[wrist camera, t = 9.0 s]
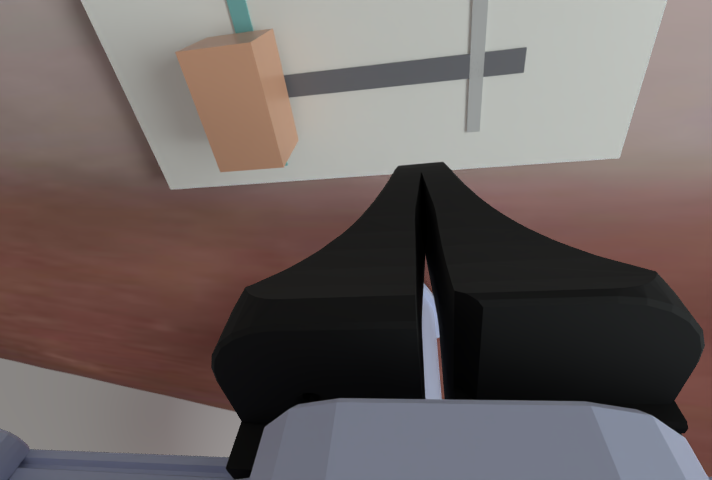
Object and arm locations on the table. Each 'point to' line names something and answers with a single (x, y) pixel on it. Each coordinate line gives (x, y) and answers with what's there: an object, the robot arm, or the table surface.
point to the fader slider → (241, 99)
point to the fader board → (396, 80)
